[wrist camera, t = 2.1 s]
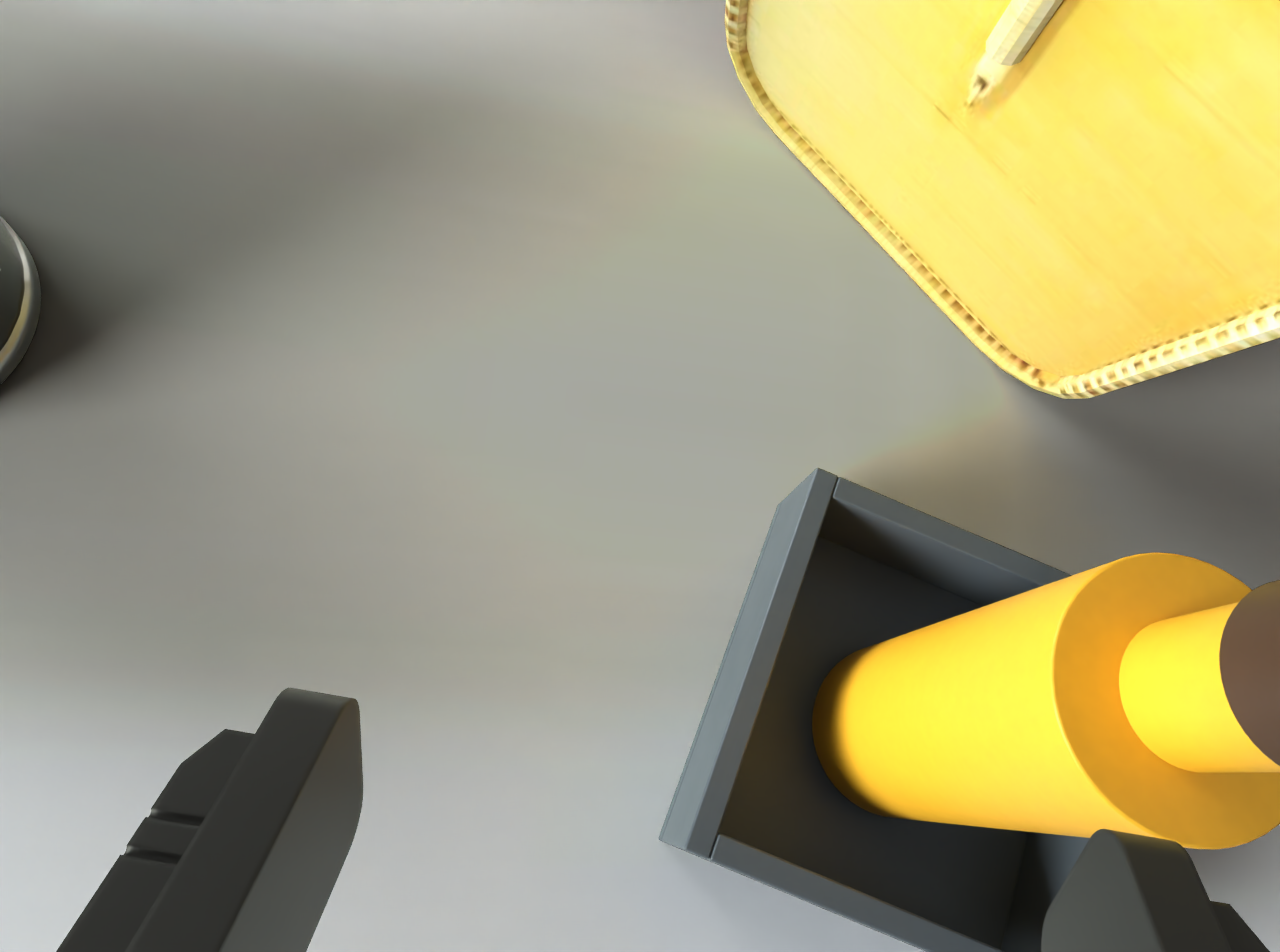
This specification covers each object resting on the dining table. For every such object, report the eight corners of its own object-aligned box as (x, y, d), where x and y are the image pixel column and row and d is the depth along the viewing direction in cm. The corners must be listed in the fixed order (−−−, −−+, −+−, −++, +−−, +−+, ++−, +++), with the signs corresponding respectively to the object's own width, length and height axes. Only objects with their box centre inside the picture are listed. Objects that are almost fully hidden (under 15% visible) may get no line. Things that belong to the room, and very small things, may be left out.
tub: (657, 839, 32) (683, 849, 27) (777, 503, 36) (816, 465, 31) (1006, 984, 32) (1087, 1017, 27) (1084, 634, 36) (1166, 614, 32)
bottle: (783, 685, 33) (1145, 570, 15) (921, 619, 35) (1407, 440, 16) (860, 848, 32) (1361, 945, 13) (1000, 772, 33) (1626, 767, 15)
